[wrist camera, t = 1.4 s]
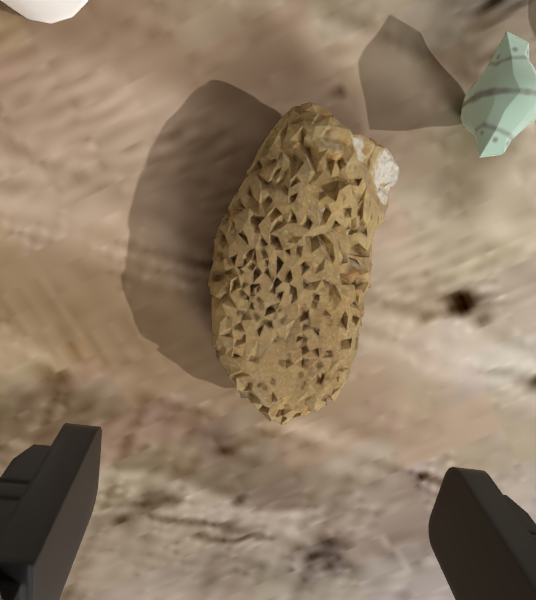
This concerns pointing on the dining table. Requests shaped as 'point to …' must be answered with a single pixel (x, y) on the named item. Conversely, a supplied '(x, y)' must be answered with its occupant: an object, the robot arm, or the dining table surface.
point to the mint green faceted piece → (501, 98)
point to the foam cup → (46, 9)
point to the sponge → (298, 262)
